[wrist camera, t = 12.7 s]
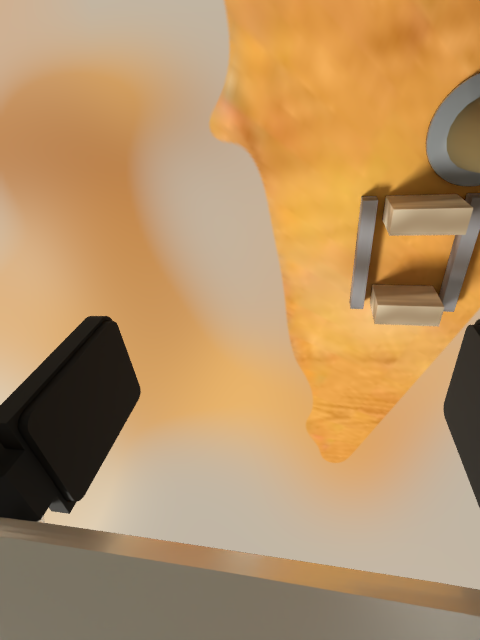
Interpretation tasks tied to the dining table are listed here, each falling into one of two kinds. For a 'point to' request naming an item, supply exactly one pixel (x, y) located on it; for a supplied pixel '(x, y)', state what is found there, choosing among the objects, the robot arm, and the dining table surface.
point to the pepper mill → (466, 138)
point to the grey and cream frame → (416, 219)
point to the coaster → (440, 128)
